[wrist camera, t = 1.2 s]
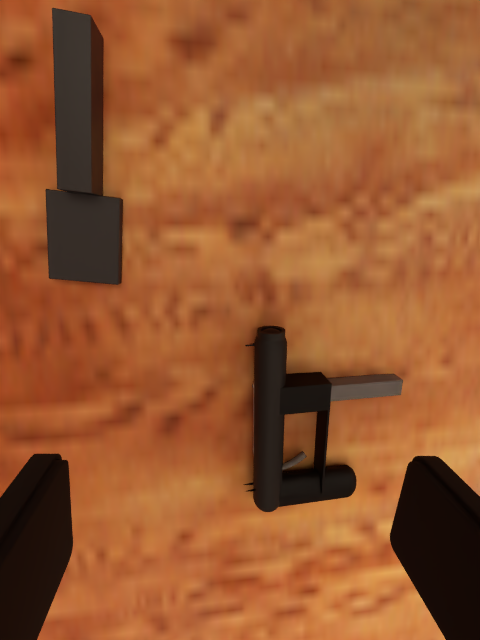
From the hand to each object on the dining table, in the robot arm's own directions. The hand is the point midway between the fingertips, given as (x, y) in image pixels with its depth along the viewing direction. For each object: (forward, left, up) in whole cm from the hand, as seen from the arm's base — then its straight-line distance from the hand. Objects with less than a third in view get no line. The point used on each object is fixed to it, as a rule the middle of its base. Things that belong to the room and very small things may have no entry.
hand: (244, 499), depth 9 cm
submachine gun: (+10, +12, -23) cm, 28 cm away
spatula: (-12, -11, -22) cm, 28 cm away
